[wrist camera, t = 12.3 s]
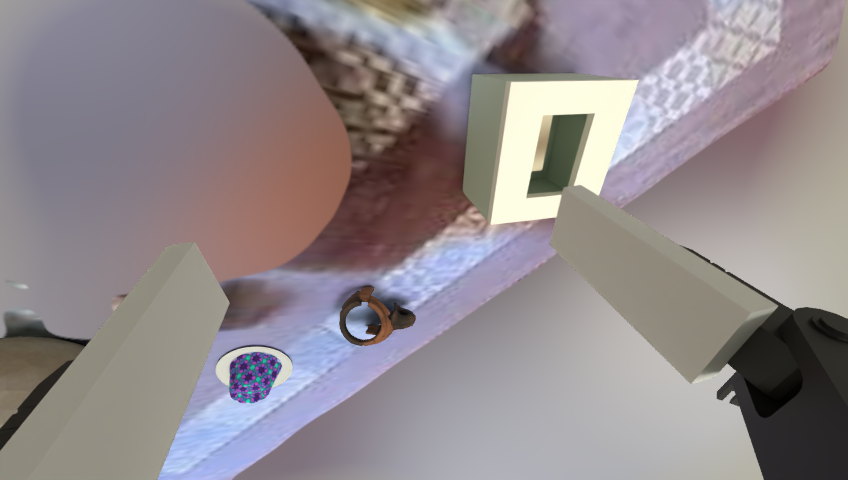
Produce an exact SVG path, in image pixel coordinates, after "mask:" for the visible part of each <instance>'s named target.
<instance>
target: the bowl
mask: <svg viewBox="0 0 848 480" xmlns="http://www.w3.org/2000/svg"><path fill="white" fill-rule="evenodd" d="M84 348H85V346H83V345H80V344H77V343H73V342H69V341H64V340H59V339H55V338H45V337H33V336H28V337H10V338H0V428H1V427H2V426H3V425H4V424H5V422H6V421H7V420H8V419H9V418H10V417H11V415H12V414H16V413H17V412H18V410H17V408H18V407H19V406H20V405H21V404H22V403H23V402H24V400H25V399H26V398H27V397H28V396H29V395H30V393H31V392H32V391H33V390H34V389H35V388H36V386H37V385H38V384H39V383H40V382H42V381H43V380H44V379H45V378H47V377H48V376H49V375H50V374H52V373H53V372H54V371H55V370H57V369H58V368H59V367H60V366H62V365H63V364H64V363H65V362H67V361H70V360H75V359H76V358H77V356H78V355H79V354H80V353H81V351H82V350H83V349H84Z"/></svg>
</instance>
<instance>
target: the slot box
mask: <svg viewBox="0 0 848 480" xmlns="http://www.w3.org/2000/svg"><path fill="white" fill-rule="evenodd" d="M638 81H639V80H633V79H624V78H615V77H606V76H597V75H588V74H578V73H539V74H472V81H471V93H470V105H469V118H468V130H467V142H466V155H465V167H464V179H463V193H464V194H465V195H466V196H467V197H468V199H469V200H470V201H471V202H472V203H473V204H474V206H475V207H476V208H477V209H478V210H479V212H480V213H481V214H482V215H483V216H484V217H485V219H486V220H487V221H488V222H489V223H490V225H492V224H501V223H509V222H518V221H527V220H536V219H544V218H553V217H557V212H558V208H559V204H560V200H561V196H562V192H563V188H564V187H570V186H577V185H582V186H584V187H585V188H587V189H588V190H590V191H592V192H593V193H595V194H597V195H598V196H599V194H600V191H601V188H602V185H603V182H604V179H605V176H606V173H607V170H608V167H609V165H610V162H611V159H612V156H613V153H614V150H615V147H616V144H617V141H618V139H619V136H620V133H621V130H622V127H623V124H624V121H625V118H626V115H627V112H628V110H629V107H630V104H631V101H632V98H633V95H634V92H635V89H636V86H637V83H638ZM543 115H553V117H552V123H551V128H550V133H549V138H548V143H547V148H546V153H545V158H544V163H543V168H542V170H540V171H532V167H533V162H534V157H535V152H536V147H537V143H538V138H539V133H540V128H541V123H542V118H543Z"/></svg>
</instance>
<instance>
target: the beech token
mask: <svg viewBox="0 0 848 480" xmlns="http://www.w3.org/2000/svg"><path fill="white" fill-rule="evenodd" d="M552 117H553V115H543V118H542V123H541V128H540V133H539V138H538V143H537V147H536V152H535V157H534V162H533V167H532V171H540V170H542V168H543V163H544V158H545V153H546V148H547V143H548V138H549V133H550V128H551V123H552Z"/></svg>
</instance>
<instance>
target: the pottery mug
mask: <svg viewBox="0 0 848 480" xmlns="http://www.w3.org/2000/svg"><path fill="white" fill-rule="evenodd" d="M373 290H374V288H373V287H364V288H363V289H361V291H357V292H356V293H354V294H353V295H352V296H351V297H350V298H348V300H347V301H346V302H345V303H344V305H343V306H342V309H343V310H342V311H341V312H340V322H339V325H340V330H341V332H342V334H343V336H344V337H345V338H346V339H347V340H348V341H349V342H350V343H352V344H355V345H359V346H363V345H364V346H367V345H372V344H377V343H379V342H382V341H383V340H385V339H386V338H388V337H389V335H390V334H391V333H392V331H393V330H396V329H404V328H408V327H410V326H412V325H413V324H414V322H415V320H416V317H415V315H414V314H413V312H411V311H410V310H408V309H404V308H401V307H400V306H399V305H398V304H397V303H394V311H393V312H392V314H391V317H390V318H388V316H389V315H390V312H389V310H388V309H387V308H386V307H385V305H384V304H382V303H381V302H380V301H379V300H378V299H377V298H375V297H373V296H371V294H372V292H373ZM362 302H368V307H370V308H372V309H373V310H375V311H376V312H377V314H378V315H379V317H380V320H381V325H369V326H368V329H367V331H366V334H372V335H376V336H375V337H374V338H372V339H367V340H361V339H358V338H356V337H354V336H352V335H351V334H350V332H349V331H348V329H347V327H346V316H347V314H348V312H349V311H350V310H351V309H353V308H355V307H357V306H361V303H362Z"/></svg>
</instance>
